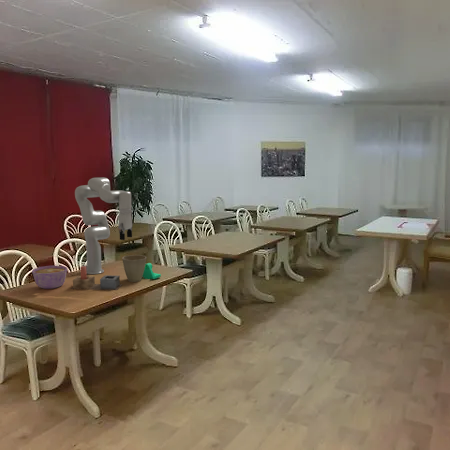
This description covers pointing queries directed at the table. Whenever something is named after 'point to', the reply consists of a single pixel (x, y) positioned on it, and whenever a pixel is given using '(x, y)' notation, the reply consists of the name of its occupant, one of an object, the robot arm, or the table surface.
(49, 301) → the table surface
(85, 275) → the pin
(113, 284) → the socket
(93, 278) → the mount
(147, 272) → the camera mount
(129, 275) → the plant pot
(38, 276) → the bowl of food
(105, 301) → the table surface
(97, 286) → the board
